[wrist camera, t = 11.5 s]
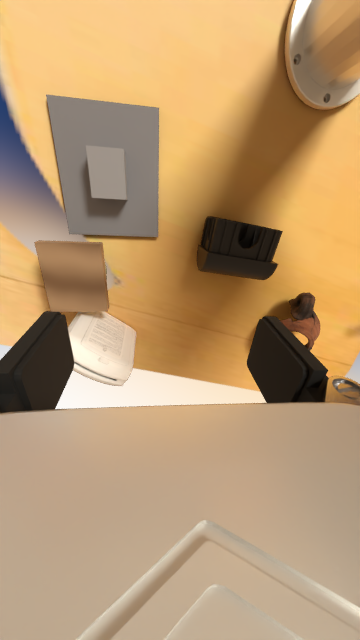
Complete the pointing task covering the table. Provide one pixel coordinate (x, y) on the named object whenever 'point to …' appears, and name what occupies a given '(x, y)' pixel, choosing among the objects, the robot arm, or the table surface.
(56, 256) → the walnut board
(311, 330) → the brown piece
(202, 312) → the table surface
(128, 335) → the photo printer
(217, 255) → the end cap
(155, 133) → the rubber mat
